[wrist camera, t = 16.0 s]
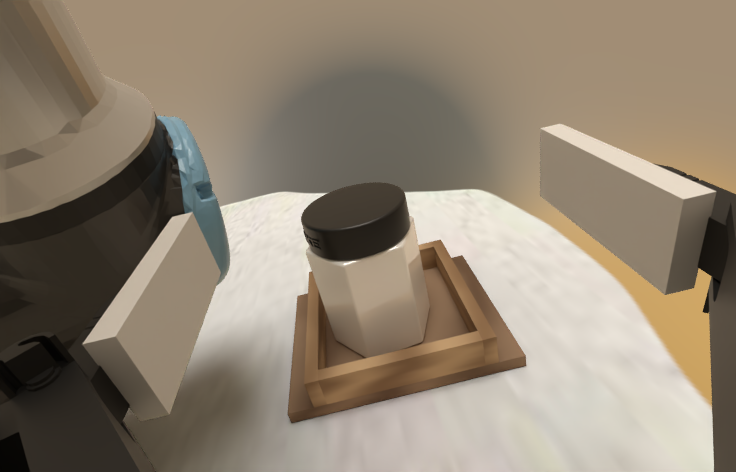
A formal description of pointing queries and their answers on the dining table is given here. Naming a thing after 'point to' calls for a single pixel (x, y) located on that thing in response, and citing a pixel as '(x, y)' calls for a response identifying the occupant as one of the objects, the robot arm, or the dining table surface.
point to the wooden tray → (407, 366)
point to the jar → (368, 267)
